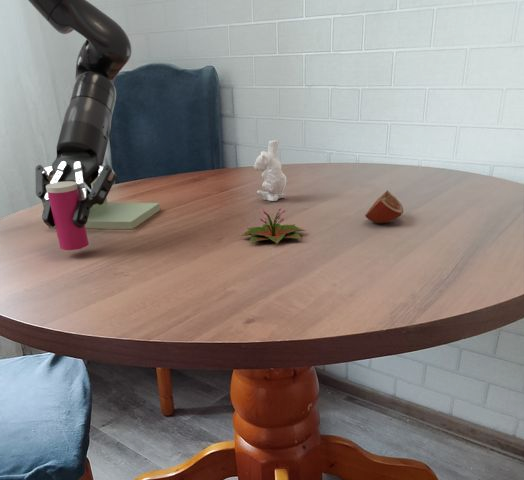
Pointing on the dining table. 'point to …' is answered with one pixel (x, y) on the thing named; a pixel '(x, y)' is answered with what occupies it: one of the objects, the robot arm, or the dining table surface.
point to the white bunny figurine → (271, 173)
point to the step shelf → (118, 214)
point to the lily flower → (273, 230)
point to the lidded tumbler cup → (66, 215)
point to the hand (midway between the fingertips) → (63, 224)
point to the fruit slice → (385, 209)
